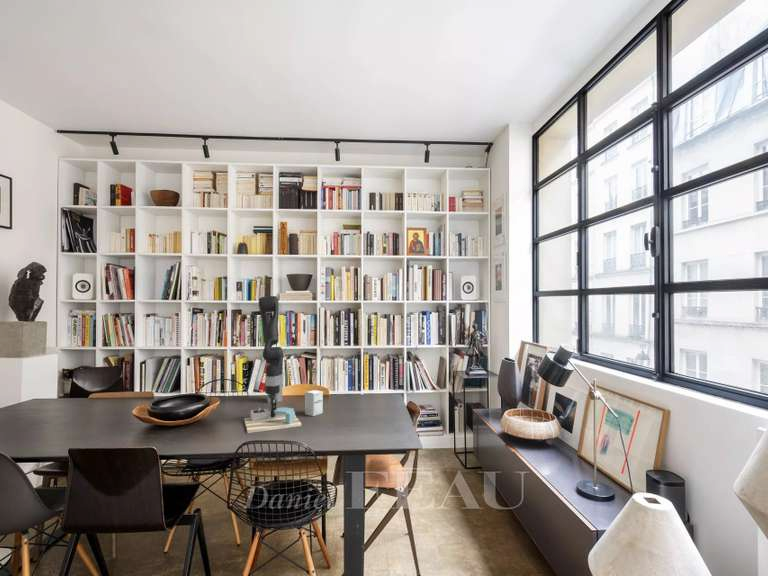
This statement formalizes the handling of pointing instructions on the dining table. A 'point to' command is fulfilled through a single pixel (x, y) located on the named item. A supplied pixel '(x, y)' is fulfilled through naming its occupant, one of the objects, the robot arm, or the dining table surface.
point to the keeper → (287, 414)
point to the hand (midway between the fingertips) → (272, 415)
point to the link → (264, 415)
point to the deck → (269, 424)
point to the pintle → (258, 409)
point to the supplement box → (313, 402)
